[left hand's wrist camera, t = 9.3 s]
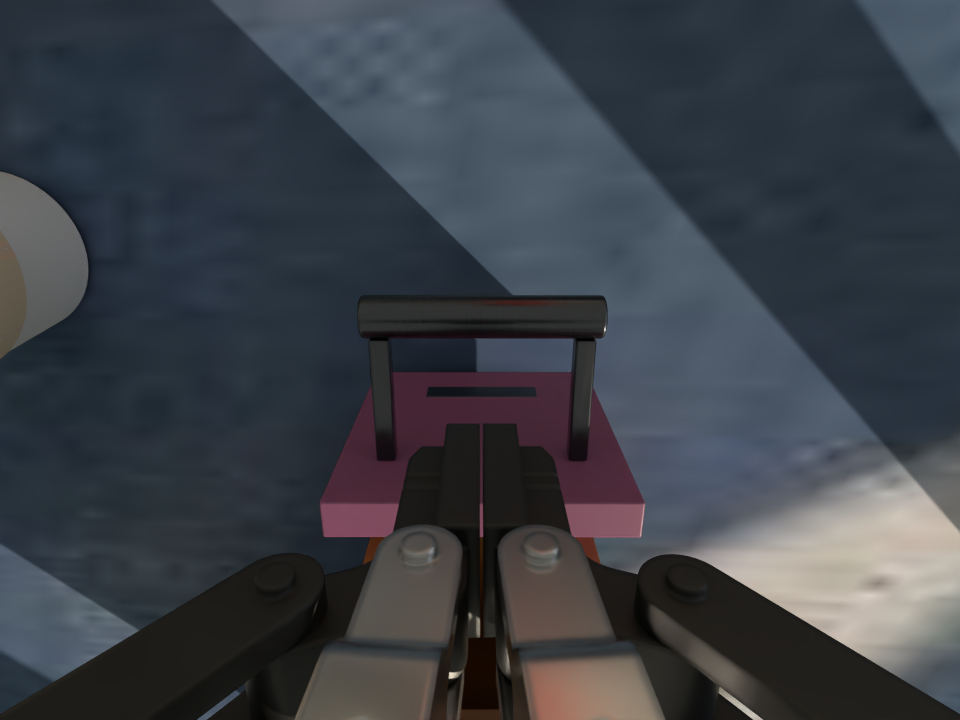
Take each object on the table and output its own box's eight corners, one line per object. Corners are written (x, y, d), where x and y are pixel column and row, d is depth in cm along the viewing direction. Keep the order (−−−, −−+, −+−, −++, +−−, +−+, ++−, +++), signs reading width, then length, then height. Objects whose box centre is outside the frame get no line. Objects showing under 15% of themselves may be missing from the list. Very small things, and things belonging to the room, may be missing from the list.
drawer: (367, 249, 23) (297, 321, 14) (595, 250, 23) (668, 322, 14) (398, 701, 33) (367, 918, 24) (562, 701, 33) (594, 919, 24)
